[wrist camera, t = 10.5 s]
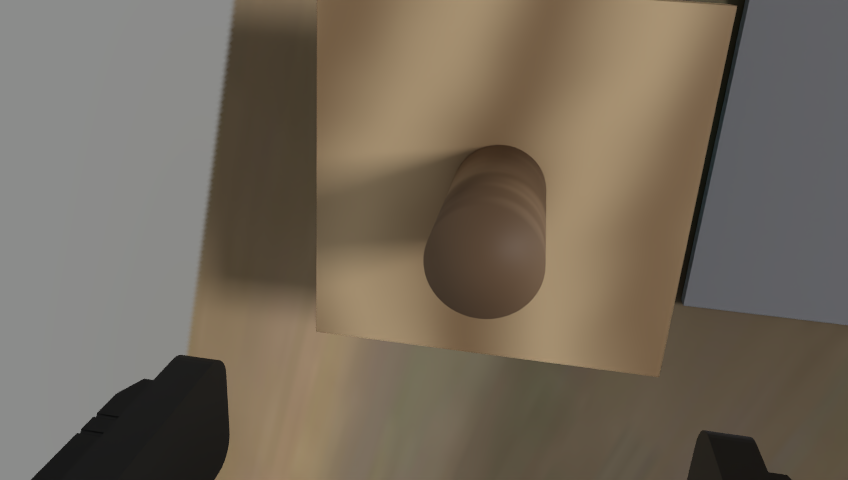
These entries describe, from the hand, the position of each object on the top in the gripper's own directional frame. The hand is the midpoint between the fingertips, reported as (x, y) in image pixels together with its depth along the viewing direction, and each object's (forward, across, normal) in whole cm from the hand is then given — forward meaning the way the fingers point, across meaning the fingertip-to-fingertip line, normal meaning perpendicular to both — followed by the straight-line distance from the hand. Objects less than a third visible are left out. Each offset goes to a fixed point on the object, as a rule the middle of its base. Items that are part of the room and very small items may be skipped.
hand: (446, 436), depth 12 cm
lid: (+15, 0, 0) cm, 15 cm away
